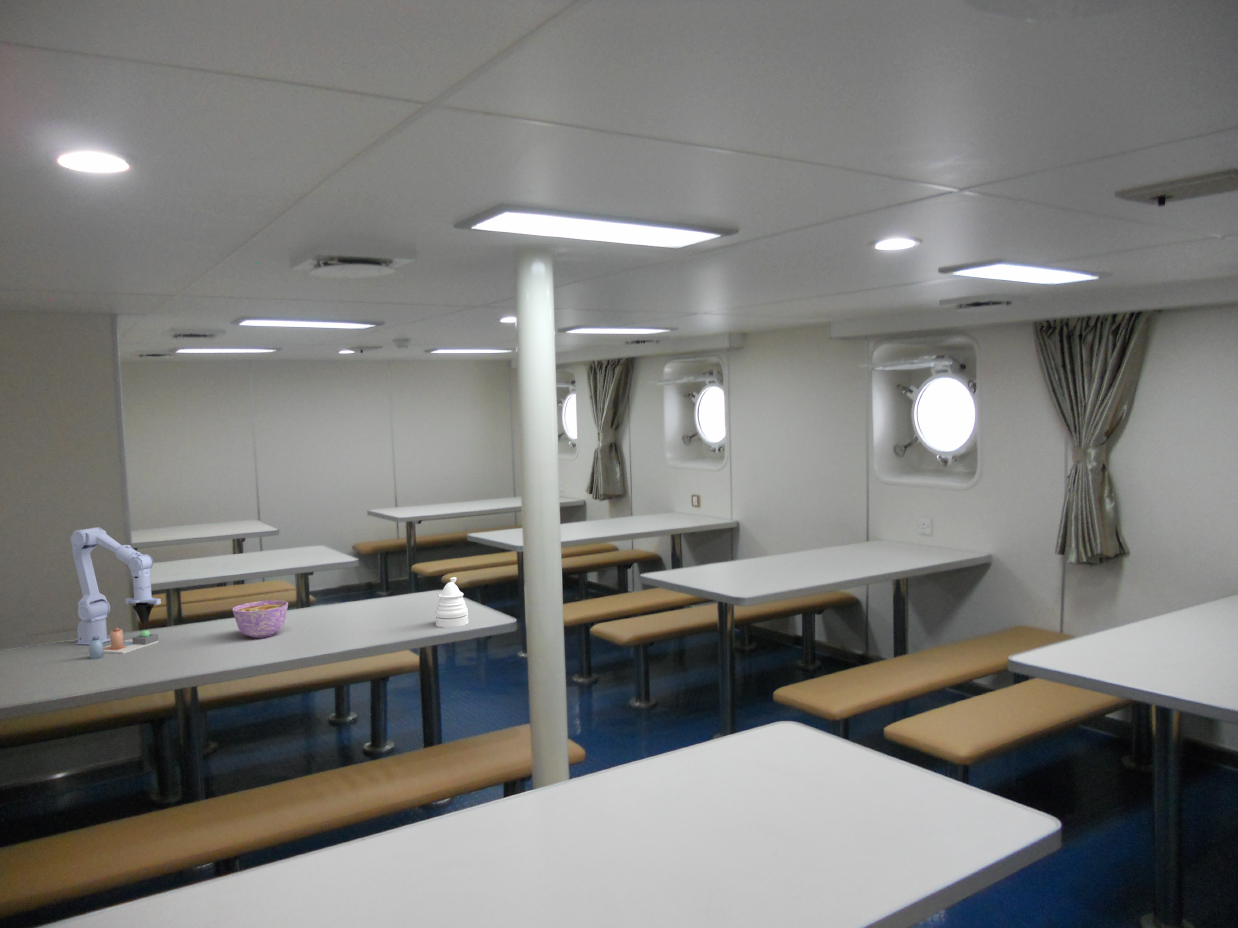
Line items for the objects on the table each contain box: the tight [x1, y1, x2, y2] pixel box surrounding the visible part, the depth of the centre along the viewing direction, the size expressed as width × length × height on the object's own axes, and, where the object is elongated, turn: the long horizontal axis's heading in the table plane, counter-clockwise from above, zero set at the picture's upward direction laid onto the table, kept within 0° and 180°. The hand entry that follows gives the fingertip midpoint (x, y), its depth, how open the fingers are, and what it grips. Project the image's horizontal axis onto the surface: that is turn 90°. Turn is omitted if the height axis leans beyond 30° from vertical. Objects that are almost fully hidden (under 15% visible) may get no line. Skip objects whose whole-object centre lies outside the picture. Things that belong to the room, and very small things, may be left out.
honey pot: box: [434, 576, 469, 628], centre depth 330 cm, size 13×13×18 cm
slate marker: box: [88, 636, 105, 660], centre depth 296 cm, size 4×4×8 cm
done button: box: [140, 629, 151, 637], centre depth 314 cm, size 3×3×3 cm
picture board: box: [103, 633, 160, 654], centre depth 310 cm, size 14×16×3 cm
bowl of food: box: [232, 600, 289, 639], centre depth 321 cm, size 20×20×12 cm
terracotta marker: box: [109, 627, 125, 650], centre depth 306 cm, size 4×4×8 cm
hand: (144, 622), depth 314 cm, fingers closed
